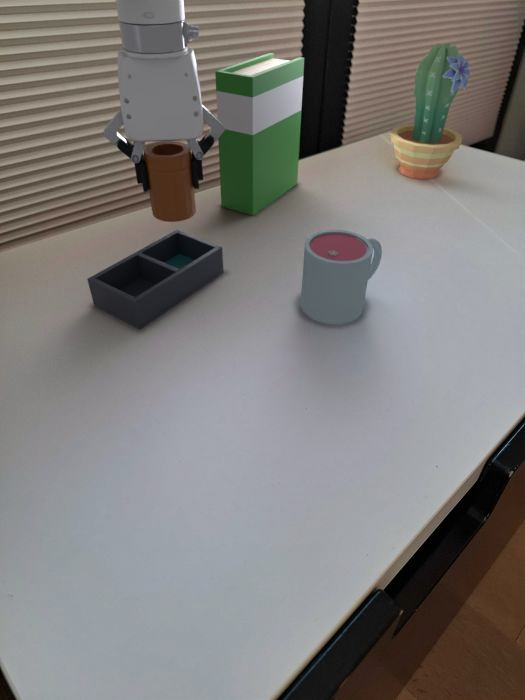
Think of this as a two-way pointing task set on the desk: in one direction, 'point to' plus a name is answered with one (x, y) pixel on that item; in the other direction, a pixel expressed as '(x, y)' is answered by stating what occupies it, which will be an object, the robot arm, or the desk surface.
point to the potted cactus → (431, 114)
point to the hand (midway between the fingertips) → (171, 185)
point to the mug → (337, 275)
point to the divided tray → (156, 278)
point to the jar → (170, 181)
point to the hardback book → (259, 130)
